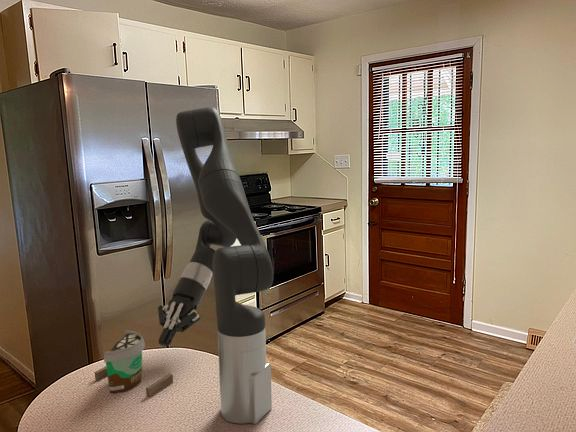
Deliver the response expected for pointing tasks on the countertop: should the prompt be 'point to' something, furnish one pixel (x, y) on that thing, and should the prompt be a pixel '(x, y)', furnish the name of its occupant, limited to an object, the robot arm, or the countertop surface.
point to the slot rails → (150, 389)
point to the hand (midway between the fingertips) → (162, 345)
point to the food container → (125, 363)
